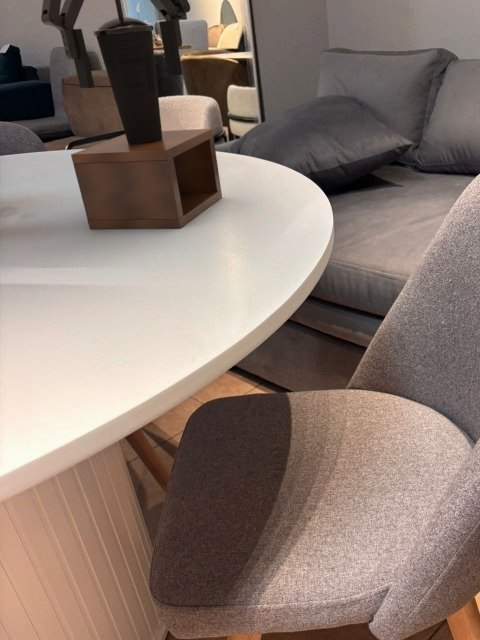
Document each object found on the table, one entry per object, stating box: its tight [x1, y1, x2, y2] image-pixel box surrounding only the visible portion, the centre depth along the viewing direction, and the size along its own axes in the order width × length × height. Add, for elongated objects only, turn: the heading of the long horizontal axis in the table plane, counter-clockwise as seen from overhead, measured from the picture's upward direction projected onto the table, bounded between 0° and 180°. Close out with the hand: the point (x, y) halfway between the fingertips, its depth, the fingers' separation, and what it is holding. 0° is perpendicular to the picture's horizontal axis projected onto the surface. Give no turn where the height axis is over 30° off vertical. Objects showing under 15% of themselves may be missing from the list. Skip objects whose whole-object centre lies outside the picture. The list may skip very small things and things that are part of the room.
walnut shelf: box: [70, 128, 223, 230], centre depth 92 cm, size 14×16×10 cm
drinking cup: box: [92, 0, 163, 144], centre depth 84 cm, size 8×8×20 cm
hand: (133, 81), depth 85 cm, fingers open, 12 cm apart
